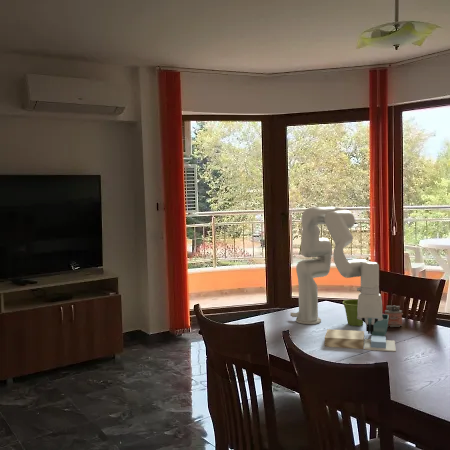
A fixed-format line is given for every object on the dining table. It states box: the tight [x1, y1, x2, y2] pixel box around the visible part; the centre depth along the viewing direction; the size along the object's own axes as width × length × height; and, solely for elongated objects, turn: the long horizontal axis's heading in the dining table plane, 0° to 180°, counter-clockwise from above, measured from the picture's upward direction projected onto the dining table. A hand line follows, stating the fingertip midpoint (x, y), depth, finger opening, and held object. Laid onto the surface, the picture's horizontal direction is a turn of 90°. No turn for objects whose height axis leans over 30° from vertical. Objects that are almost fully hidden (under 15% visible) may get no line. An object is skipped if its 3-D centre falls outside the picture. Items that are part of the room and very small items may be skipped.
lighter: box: [384, 304, 403, 328], centre depth 247 cm, size 8×3×10 cm, turn 84°
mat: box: [363, 338, 397, 352], centre depth 217 cm, size 12×14×1 cm
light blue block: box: [370, 334, 387, 348], centre depth 217 cm, size 6×9×2 cm, turn 163°
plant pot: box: [342, 298, 364, 327], centre depth 251 cm, size 12×12×11 cm
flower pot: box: [368, 313, 389, 336], centre depth 232 cm, size 9×9×9 cm
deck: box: [324, 328, 365, 350], centre depth 221 cm, size 16×13×4 cm
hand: (369, 333), depth 218 cm, fingers closed
